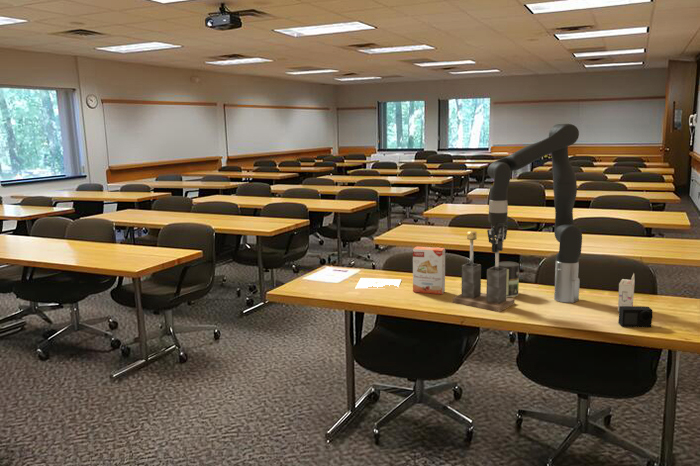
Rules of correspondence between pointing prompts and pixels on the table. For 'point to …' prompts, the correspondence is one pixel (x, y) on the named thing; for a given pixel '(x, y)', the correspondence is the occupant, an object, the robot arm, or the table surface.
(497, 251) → the plunger black
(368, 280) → the paper sheet
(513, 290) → the coffee can
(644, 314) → the digital camera
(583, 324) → the table surface
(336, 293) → the table surface
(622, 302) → the ink cartridge box
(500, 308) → the stand
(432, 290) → the cracker box
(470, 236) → the plunger brass
